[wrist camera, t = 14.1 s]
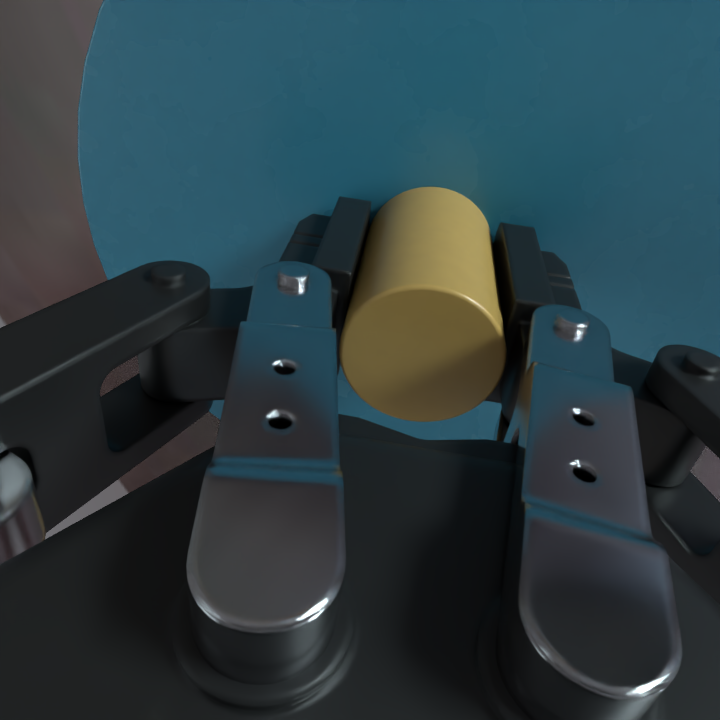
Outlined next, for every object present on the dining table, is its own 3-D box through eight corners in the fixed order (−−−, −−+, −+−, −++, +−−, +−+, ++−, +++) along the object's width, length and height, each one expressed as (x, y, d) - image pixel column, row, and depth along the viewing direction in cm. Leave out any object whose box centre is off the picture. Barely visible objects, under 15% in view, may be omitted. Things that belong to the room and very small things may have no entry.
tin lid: (1015, 78, 12) (1373, 175, 7) (514, 535, 21) (532, 706, 16) (232, -496, 9) (3, -936, 4) (46, 323, 18) (-91, 458, 13)
